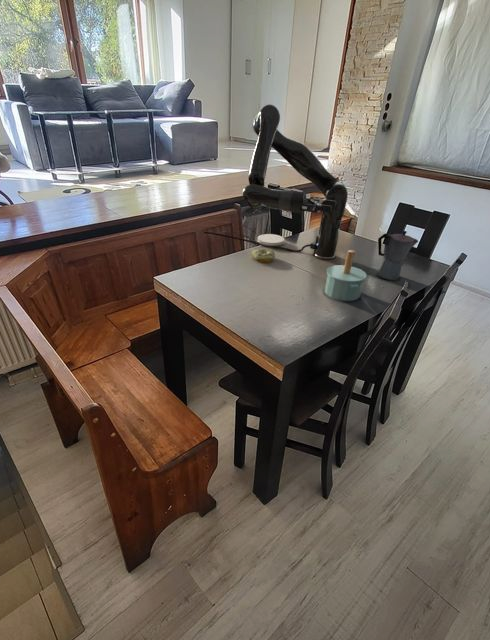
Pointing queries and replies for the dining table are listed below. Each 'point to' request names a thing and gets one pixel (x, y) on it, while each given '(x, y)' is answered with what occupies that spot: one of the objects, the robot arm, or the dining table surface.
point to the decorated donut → (263, 255)
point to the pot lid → (347, 270)
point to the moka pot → (395, 254)
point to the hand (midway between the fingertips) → (333, 206)
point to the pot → (343, 289)
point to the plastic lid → (270, 239)
